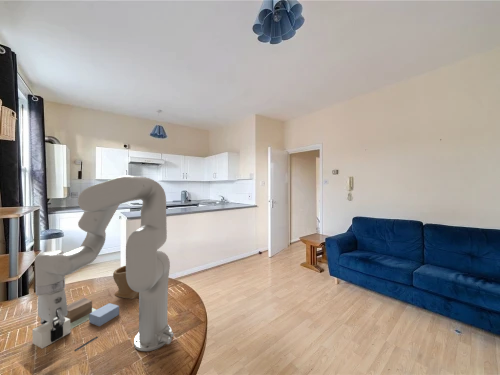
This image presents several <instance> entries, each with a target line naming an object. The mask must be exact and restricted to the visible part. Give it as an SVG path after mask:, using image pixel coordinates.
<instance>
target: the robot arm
mask: <svg viewBox="0 0 500 375" xmlns="http://www.w3.org/2000/svg"><path fill="white" fill-rule="evenodd" d="M139 200H140V201H142V205H141V210H140V227H139V228H137V229H135V230H134V231H133V232H131V234H130V235H129V236H128V238H127V241H126V245H125V266H126V279H127V283H128V285H129V287H130V288H131V289H132V290H134V291H136V292H139V298H138V333H137V334H136V335H135V337H134V338H133V347H134V348H135V349H136V350H137V351H140V352H150V351H154V350H158V349H160V348H161V347H163V346H164V345H170V344H171V342H172V341H173V340H172V338H173V337H174V336H175V333H174V332H173V330H172V328H171V326H170V325H169V324H168V313H169V312H168V308H169V307H168V302H169V300H168V297H169V296H168V295H169V276H170V270H171V269H170V267H171V266H170V263H171V262H170V258H169V256H168V255H167V254H166V253H165V252H164V251H161V250H159V249H160V248H161V247H162V246H163V245H165V243H166V241H167V237H168V236H167V234H168V233H167V232H168V230H167V225H168V224H167V196H166V192H165V190H164V187H163V186H162V185H161V184H160V183H159V182H158V181H157V180H155V179H153V178H150V177H146V176H139V175H138V176H137V175H136V176H135V175H122V176H118V177H115V178H111V179H109V180H106V181H102V182H99V183H96V184H94V185H90V186H87V187H86V188H85V189H83V190H82V191H81V192H80V193H79V195H78V197H77V204H78V206H79V208H80V210H82V211H83V213H82V215H81V217H80V218H79V220H78V221H77V224H78V225H77V226H78V227H79V229H80V230H82V231H84V232H86V236H85V238H84V240H83V241H82V243H81V245H80V246H79V247H76V248H73V249H71V250H69V251H67V252H64V251H63V250H61V249H60V250H59V249H58V250H57V249H55V250H53V249H52V250H48V251H44V252H41V253H39V254H37V255H36V256H35V258H34V267H35V268H34V270H35V274H34V275H35V295H36V296H37V315H38V317H39V318H40V325H42V324H45V323H47V322H50V323H51V327H52V330H51V342H53V343H55V342H56V341H55V340H57V339H58V340H60V339H62V338H64V337H63V324H64V321H65V318H64V316H67V314H68V312H67V305H68V303H67V302H68V301H67V300H68V299H67V296H66V290H65V288H66V276H69V275H72V274H73V273H75V272H77V271H79V270H80V269H83V268H85V267H87V266H88V265H90V264H91V263H93V262H94V261H95V260H96V259H97V257H98V256H99V254H100V253H101V250H102V249H103V247H104V245H105V242H106V236H107V234H106V233H107V232H106V230H107V227H108V226H109V224H110V222H111V220H112V219H113V217H114V216H115V214H116V212H117V210H118V209H119V206H120V205H122V204H125V203H129V202H134V201H139ZM56 317H57V319H55V320H53V319H54V318H56ZM55 321H58V323H56V325H55V324H54V322H55ZM61 337H62V338H61ZM59 338H60V339H59ZM58 340H57V341H58ZM54 341H55V342H54Z"/></svg>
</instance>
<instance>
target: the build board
mask: <svg viewBox="0 0 500 375" xmlns="http://www.w3.org/2000/svg"><path fill="white" fill-rule="evenodd" d="M95 310H97V309H96V308H94V307H92V312H93V311H95ZM56 318H57V317H56ZM54 319H55V318H54ZM87 321H89V314H88V315H86V316H84V317H82V318H80V319H78V320H76V321H74V322H72V323H70V329H71V330H72V329H74V328H75V327H77V326H79V325H82V324H83V323H85V322H87Z"/></svg>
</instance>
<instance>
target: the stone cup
mask: <svg viewBox="0 0 500 375" xmlns="http://www.w3.org/2000/svg"><path fill="white" fill-rule="evenodd" d="M112 276H113V281H114V282H115V285H116V286H117V288H118V290H117V291H115V293H114V296H116V297H117V298H123V299H128V300H129V299H131V300H134V299H136V298H137V299H139V292H136V291H134V290H132V289H131V288H130V287H129V285H128V283H127V279H126V265H123V266H120V267H119V268H117V269H115V270H114V271H113V273H112Z"/></svg>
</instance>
